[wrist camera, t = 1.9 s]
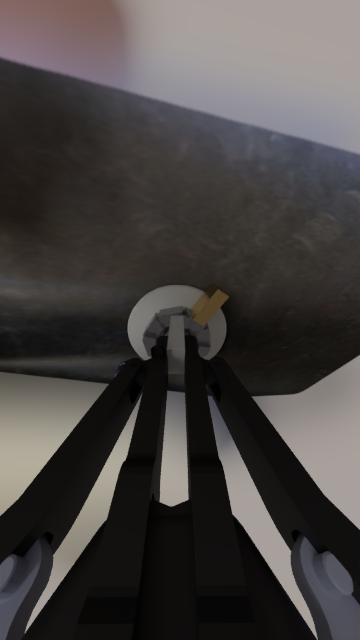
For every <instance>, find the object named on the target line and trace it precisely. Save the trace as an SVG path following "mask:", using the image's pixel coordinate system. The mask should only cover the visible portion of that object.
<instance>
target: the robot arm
mask: <svg viewBox="0 0 360 640" xmlns="http://www.w3.org/2000/svg"><path fill="white" fill-rule="evenodd" d="M150 350H151V358H150V359H148V360H145V361H142V360H141V359H139V358H132V359H130V360H128V361H127V362H126V363H125V365H124V366H123V367H122V368H121V370H120V371H119V372H118V373H117V375H116V376H115V377H114V379H113V380H112V381H111V382H110V384H109V385H108V386H107V387H106V389H105V390H104V391H103V393H102V394H101V395H100V396H99V398H98V399H97V400H96V401H95V403H94V404H93V405H92V407H91V408H90V409H89V410H88V412H87V413H86V414H85V415H84V417H83V418H82V419H81V420H80V422H79V423H78V424H77V426H76V427H75V428H74V429H73V431H72V432H71V433H70V434H69V436H68V437H67V438H66V439H65V441H64V442H63V443H62V445H61V446H60V447H59V448H58V450H57V451H56V452H55V453H54V455H53V456H52V457H51V458H50V460H49V461H48V462H47V464H46V465H45V466H44V467H43V469H42V470H41V471H40V473H39V474H38V475H37V476H36V477H35V479H34V480H33V481H32V483H31V484H30V485H29V486H28V488H27V489H26V490H25V492H24V493H23V494H22V495H21V496H20V498H19V499H18V500H17V501H16V502H15V503H14V504H13V505H12V506H11V507H10V508H8V509H7V510H6V511H5V512H4V513H3V514H2V515H1V516H0V640H317V639H316V637H315V636H314V634H313V633H312V631H311V630H310V628H309V627H308V625H307V623H306V622H305V620H304V619H303V617H302V616H301V614H300V613H299V611H298V610H297V608H296V607H295V605H294V604H293V602H292V601H291V599H290V598H289V596H288V595H287V593H286V591H285V590H284V588H283V587H282V585H281V584H280V582H279V581H278V579H277V578H276V576H275V575H274V573H273V572H272V570H271V569H270V567H269V566H268V564H267V562H266V561H265V559H264V558H263V556H262V555H261V553H260V552H259V550H258V549H257V547H256V546H255V544H254V543H253V541H252V540H251V538H250V537H249V535H248V533H247V532H246V531H245V529H244V528H243V526H242V525H241V524H240V522H239V521H238V520H237V519H236V518H235V517H234V516H233V515H232V511H231V505H230V500H229V495H228V491H227V485H226V479H225V474H224V470H223V466H222V463H221V461H220V459H219V456H218V451H217V446H216V440H215V435H214V430H213V424H212V418H211V413H210V407H209V402H208V396H207V391H206V385H207V386H208V389H209V391H210V393H211V395H212V397H213V399H214V401H215V403H216V405H217V407H218V409H219V411H220V413H221V415H222V418H223V420H224V421H225V423H226V426H227V428H228V430H229V432H230V434H231V436H232V438H233V440H234V442H235V444H236V446H237V448H238V451H239V452H240V455H241V457H242V459H243V461H244V463H245V465H246V467H247V469H248V471H249V473H250V476H251V478H252V479H253V482H254V484H255V486H256V488H257V490H258V492H259V494H260V496H261V498H262V500H263V502H264V505H265V506H266V509H267V511H268V512H269V514H270V516H271V518H272V520H273V522H274V524H275V526H276V528H277V529H278V531H279V533H280V534H281V536H282V538H283V539H284V541H285V543H286V544H287V546H288V547H289V549H290V550H291V566H292V572H293V575H294V578H295V581H296V584H297V586H298V588H299V590H300V592H301V593H302V596H303V598H304V600H305V602H306V604H307V606H308V608H309V610H310V613H311V615H312V618H313V621H314V624H315V629H316V633H317V637H318V640H360V530H359V529H358V528H357V527H356V526H355V525H354V524H353V523H352V522H351V521H350V520H349V519H348V518H347V517H346V516H345V515H344V514H343V513H342V512H341V511H340V510H339V509H338V508H337V507H336V506H334V504H333V503H332V502H331V501H330V500H329V499H328V498H327V497H326V496H325V495H324V494H323V493H322V491H321V490H320V489H319V488H318V486H317V485H316V483H315V482H314V481H313V479H312V478H311V477H310V475H309V474H308V472H307V471H306V470H305V468H304V467H303V466H302V464H301V463H300V462H299V460H298V459H297V458H296V456H295V455H294V454H293V452H292V451H291V449H290V448H289V447H288V445H287V444H286V443H285V441H284V440H283V439H282V437H281V436H280V435H279V433H278V432H277V431H276V429H275V428H274V427H273V425H272V424H271V423H270V421H269V420H268V418H267V417H266V416H265V414H264V413H263V412H262V410H261V409H260V408H259V406H258V405H257V404H256V402H255V401H254V400H253V398H252V397H251V395H250V394H249V393H248V391H247V390H246V389H245V387H244V386H243V385H242V383H241V382H240V381H239V379H238V378H237V376H236V375H235V374H234V372H233V371H232V370H231V368H230V367H229V366H228V364H227V363H226V362H225V360H224V359H222V358H220V357H213V358H211V359H210V360H207V359H204V358H202V357H200V355H199V353H198V347H197V342H196V338H195V336H194V335H184V321H183V316H171V319H170V327H169V336H159V337H158V339H157V343H156V345H155V346H153V347H152V348H151V349H150ZM168 374H185V404H186V431H187V457H188V458H187V459H188V491H189V492H188V494H189V500H188V501H185V502H182V503H180V504H178V505H175V506H173V507H170V506H167V505H165V504H162V503H160V502H159V500H160V475H161V462H162V450H163V437H164V425H165V412H166V400H167V387H168ZM205 384H206V385H205ZM142 392H143V393H142ZM141 394H142V397H141V402H140V406H139V410H138V414H137V418H136V422H135V426H134V430H133V435H132V439H131V443H130V447H129V451H128V455H127V458H126V460H125V461H124V462H123V464H122V466H121V469H120V472H119V475H118V479H117V483H116V487H115V491H114V495H113V498H112V502H111V506H110V510H109V514H108V518H107V520H106V521H105V522H104V523H103V524H102V526H101V527H100V528H99V529H98V531H97V532H96V534H95V535H94V536H93V538H92V539H91V541H90V542H89V543H88V545H87V546H86V548H85V549H84V551H83V552H82V553H81V555H80V556H79V558H78V559H77V560H76V562H75V564H74V565H73V566H72V568H71V569H70V570H69V572H68V573H67V575H66V576H65V577H64V579H63V580H62V582H61V583H60V585H59V586H58V587H57V589H56V590H55V592H54V593H53V594H52V596H51V597H50V599H49V600H48V602H47V603H46V604H45V606H44V607H43V609H42V610H41V611H40V613H39V614H38V616H37V617H36V619H35V620H34V622H33V623H32V624H31V626H30V627H29V629H28V630H27V631H26V633H25V630H26V626H27V623H28V621H29V618H30V616H31V614H32V611H33V609H34V607H35V605H36V604H37V602H38V600H39V598H40V596H41V595H42V593H43V591H44V589H45V588H46V586H47V583H48V581H49V577H50V574H51V570H52V567H53V554H54V553H55V552H56V550H57V549H58V548H59V546H60V545H61V543H62V541H63V540H64V538H65V537H66V535H67V534H68V532H69V530H70V529H71V527H72V525H73V524H74V522H75V520H76V518H77V516H78V515H79V513H80V511H81V509H82V507H83V505H84V503H85V501H86V500H87V498H88V496H89V493H90V492H91V490H92V488H93V486H94V484H95V482H96V480H97V479H98V477H99V475H100V472H101V471H102V469H103V467H104V465H105V463H106V461H107V459H108V457H109V455H110V454H111V452H112V450H113V448H114V446H115V444H116V442H117V440H118V438H119V436H120V434H121V432H122V430H123V429H124V427H125V425H126V423H127V421H128V419H129V417H130V415H131V413H132V411H133V409H134V407H135V406H136V404H137V402H138V400H139V398H140V396H141ZM24 633H25V634H24Z"/></svg>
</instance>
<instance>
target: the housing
mask: <svg viewBox="0 0 360 640" xmlns="http://www.w3.org/2000/svg"><path fill="white" fill-rule="evenodd" d="M203 294H204V291H202V290H200V289H198V288H195V287H192V286H188V285H181V284H173V285H166V286H162V287H159V288H156V289H154V290H152V291H150V292H149V293H147V294H146V295H145V296H143V297H142V298H141V299H140V300H139V301H138V303H137V304H136V306H135V307H134V308H133V310H132V312H131V314H130V317H129V320H128V336H129V340H130V343H131V345H132V347H133V348H134V350H135V351H136V352H137V353H138V355H139V356H140V357H142V358H143V359H144V360H148V359H150V358H151V357H148V355H147V352H146V349H145V347H144V344H143V341H142V338H143V333H144V330H145V328H146V326H147V325H148V323H149V322H150V320H151V319H152V317H153V316H154V314H155V313H156V312H157V313H158V314H159V311H160V310H161V309H167V308H173V307H178V306H182V309H183V311H184V310H185V308H186V307H188V308H189V309H192V308H193V306H194V305H195V304H196V303H197V301H198V300H199V299H200V298H201V296H202V295H203ZM207 324H208V327H209V331H210V341H211V347H210V351H209V353H208V355H205V356H204V357H203V358H204V359H207V360H210V359H211V358H213V357H214V356H215V355H216V354H217V353H218V351H219V350H220V348H221V347H222V345H223V343H224V340H225V337H226V320H225V317H224V314H223V312H222V310H221V308H219V309H218V310H217V312H216V313H215V314H214V315H213V316H212V317H211V318H210V320H209V321H208V322H207ZM184 335H194V336H195V338H196V339H197V336H196V333H195V332H193V331H192V330H190V329H188V328H187V329H185V328H184ZM159 336H169V327H165V328H164V329H163V330H162V331H161V333H160V334H159V335H158V337H159Z"/></svg>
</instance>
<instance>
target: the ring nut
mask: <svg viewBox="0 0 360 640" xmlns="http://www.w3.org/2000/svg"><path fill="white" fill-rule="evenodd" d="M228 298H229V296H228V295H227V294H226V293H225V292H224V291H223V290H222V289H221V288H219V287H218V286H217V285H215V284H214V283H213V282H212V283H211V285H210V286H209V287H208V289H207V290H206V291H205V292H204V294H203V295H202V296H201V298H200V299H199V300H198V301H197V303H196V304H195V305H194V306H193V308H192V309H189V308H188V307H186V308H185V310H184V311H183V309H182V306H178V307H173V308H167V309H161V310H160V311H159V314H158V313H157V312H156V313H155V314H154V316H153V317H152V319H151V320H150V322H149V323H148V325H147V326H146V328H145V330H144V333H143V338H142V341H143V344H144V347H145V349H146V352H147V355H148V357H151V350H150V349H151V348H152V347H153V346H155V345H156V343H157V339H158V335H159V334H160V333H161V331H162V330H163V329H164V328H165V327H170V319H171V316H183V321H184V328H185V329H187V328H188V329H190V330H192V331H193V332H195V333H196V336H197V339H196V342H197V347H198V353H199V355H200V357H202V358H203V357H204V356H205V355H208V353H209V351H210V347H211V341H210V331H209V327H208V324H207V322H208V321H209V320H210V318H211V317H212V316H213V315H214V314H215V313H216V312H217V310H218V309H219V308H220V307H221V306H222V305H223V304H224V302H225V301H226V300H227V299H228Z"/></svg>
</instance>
